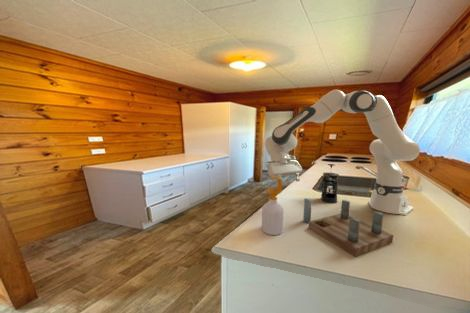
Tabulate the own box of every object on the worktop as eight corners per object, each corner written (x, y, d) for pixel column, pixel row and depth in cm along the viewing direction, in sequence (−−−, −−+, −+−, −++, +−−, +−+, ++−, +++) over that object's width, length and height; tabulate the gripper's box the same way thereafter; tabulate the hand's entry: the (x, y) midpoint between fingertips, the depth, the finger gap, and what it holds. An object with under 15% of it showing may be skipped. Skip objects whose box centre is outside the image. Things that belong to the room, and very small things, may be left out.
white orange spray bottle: (259, 225, 90) (260, 173, 87) (279, 224, 91) (280, 173, 88) (264, 236, 81) (265, 178, 78) (285, 235, 82) (288, 177, 79)
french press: (330, 204, 116) (333, 166, 113) (316, 199, 124) (319, 163, 121) (342, 201, 122) (345, 164, 119) (328, 196, 130) (330, 162, 127)
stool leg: (306, 219, 96) (308, 198, 95) (311, 222, 94) (313, 200, 92) (301, 220, 95) (303, 199, 94) (306, 223, 92) (308, 201, 91)
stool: (342, 218, 97) (343, 197, 96) (392, 242, 77) (395, 215, 76) (308, 227, 88) (309, 204, 87) (355, 256, 68) (358, 227, 67)
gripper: (267, 158, 104) (277, 180, 97) (297, 156, 112) (309, 176, 105) (262, 165, 109) (272, 187, 101) (291, 162, 117) (302, 182, 110)
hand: (291, 181), depth 103 cm, fingers open, 8 cm apart
